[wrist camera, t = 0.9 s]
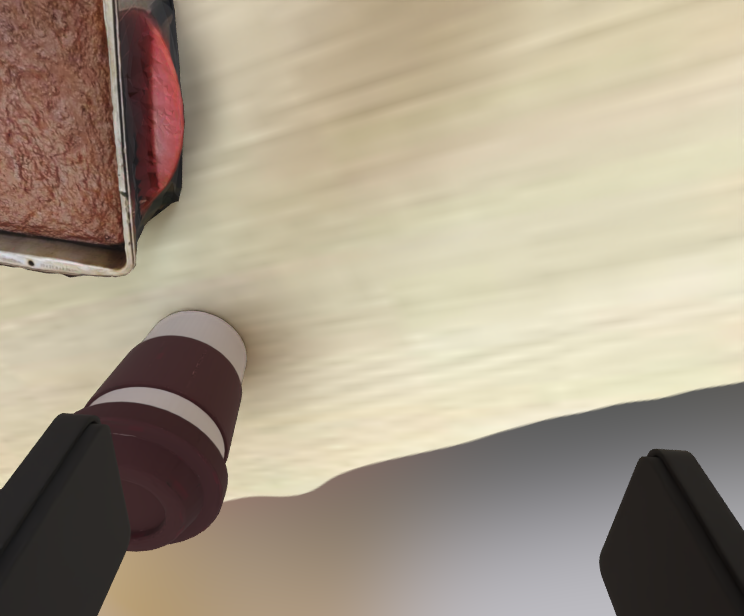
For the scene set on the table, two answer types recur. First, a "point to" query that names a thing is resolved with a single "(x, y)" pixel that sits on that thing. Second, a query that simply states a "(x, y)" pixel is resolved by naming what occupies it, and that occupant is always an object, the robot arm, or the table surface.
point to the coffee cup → (174, 425)
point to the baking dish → (86, 131)
